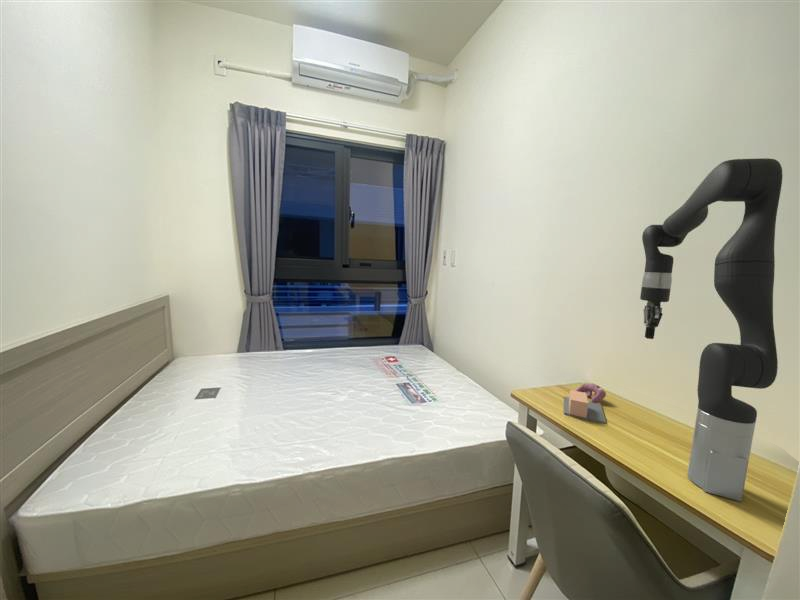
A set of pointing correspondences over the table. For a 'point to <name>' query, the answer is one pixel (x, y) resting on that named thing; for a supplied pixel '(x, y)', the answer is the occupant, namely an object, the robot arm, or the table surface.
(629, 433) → the table surface
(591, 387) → the video game controller
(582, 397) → the peach block
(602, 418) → the charcoal mat
